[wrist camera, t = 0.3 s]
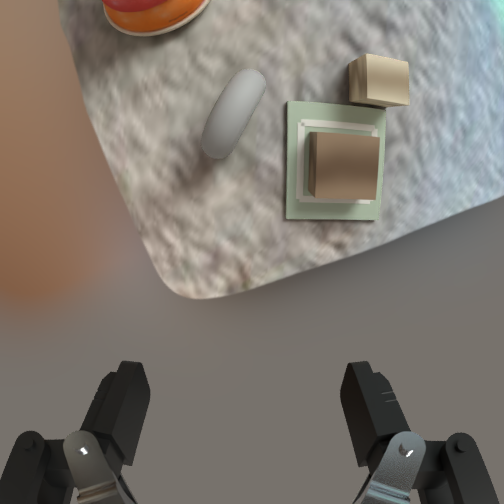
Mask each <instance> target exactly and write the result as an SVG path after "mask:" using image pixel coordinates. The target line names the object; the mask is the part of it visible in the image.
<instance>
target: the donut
mask: <svg viewBox="0 0 504 504" xmlns="http://www.w3.org/2000/svg"><path fill="white" fill-rule="evenodd" d="M265 89H266V82H265V79H264V77H263V76H262V74H261V73H259V72H258V71H256V70H253V69H244V70H240V71H239V72H237V73H236V74H235V75H234V76H233V77H232V78H231V80H230V81H229V82H228V84H227V85H226V87H225V88H224V90H223V91H222V93H221V95H220V96H219V98H218V100H217V102H216V104H215V106H214V108H213V110H212V112H211V114H210V116H209V118H208V120H207V123H206V125H205V128H204V130H203V133H202V137H201V146H202V149H203V151H204V152H205V153H206V154H207V155H208V156H209V157H211V158H215V159H222V158H225V157H227V156H228V155H229V154H230V153H231V152H232V151H233V149H234V147H235V146H236V144H237V142H238V140H239V138H240V136H241V134H242V132H243V130H244V129H245V127H246V125H247V123H248V121H249V119H250V117H251V116H252V114H253V112H254V110H255V108H256V106H257V105H258V103H259V101H260V99H261V97H262V96H263V94H264V92H265Z"/></svg>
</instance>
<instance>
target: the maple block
mask: <svg viewBox="0 0 504 504" xmlns="http://www.w3.org/2000/svg"><path fill="white" fill-rule="evenodd" d="M349 102H353V103H361V104H369V105H376V106H383V107H393V106H405V105H409V69H408V62H405V61H401V60H396V59H392V58H387V57H382V56H377V55H372V54H367V53H366V54H364V55H363V56H361V57H359V58H357V59H356V60H354V61H352V62H351V63H349Z"/></svg>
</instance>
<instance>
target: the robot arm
mask: <svg viewBox="0 0 504 504" xmlns="http://www.w3.org/2000/svg"><path fill="white" fill-rule="evenodd" d="M340 398H341V404H342V407H343V411H344V414H345V418H346V422H347V425H348V429H349V432H350V436H351V440H352V444H353V447H354V451H355V455H356V459H357V463H358V466H359V467H363V466H368V468H369V473H368V475H367V477H366V479H365V481H364V482H363V484H362V486H361V488H360V490H359V491H358V493H357V495H356V496H355V498H354V500H353V502H352V503H351V504H410V499H409V498H408V497H409V493H410V491H411V489H417V490H418V493H419V497H420V502H421V504H499V501H498V498H497V495H496V493H495V490H494V487H493V484H492V482H491V479H490V476H489V474H488V471H487V469H486V466H485V464H484V461H483V459H482V456H481V454H480V452H479V449H478V447H477V445H476V442H475V441H474V439H473V438H472V437H471V436H469V435H468V434H466V433H455V434H453V435H451V436H450V437H449V438H448V440H447V441H425V440H423V439H422V437H421V436H419V435H418V434H416V433H414V432H411V430H410V428H409V426H408V424H407V422H406V419H405V417H404V415H403V412H402V410H401V408H400V405H399V403H398V401H397V400H396V396H395V394H394V393H393V390H392V387H391V385H390V383H389V381H388V380H387V379H386V378H385V377H384V376H383V375H382V374H381V373H380V372H378V373H373V371H372V369H371V367H370V365H369V363H368V362H367V361H363V362H353V363H348V365H347V368H346V372H345V375H344V379H343V382H342V386H341V390H340ZM149 401H150V388H149V384H148V381H147V378H146V375H145V372H144V368H143V365H142V363H140V362H132V361H122V362H121V364H120V366H119V368H118V370H117V372H110V373H109V374H108V375H107V376H106V377H105V378H104V379H102V381H101V384H100V385H99V388H98V392H96V394H95V396H94V400H93V401H92V403H91V406H90V408H89V410H88V412H87V415H86V417H85V419H84V422H83V424H82V426H81V428H80V430H79V431H75V432H72V433H71V434H69V435H68V436H67V437H66V439H62V440H44V438H43V437H42V436H41V435H40V434H39V433H37V432H35V431H26V432H24V433H22V434H21V435H20V436H19V437H18V438H17V440H16V442H15V445H14V446H13V449H12V452H11V454H10V456H9V459H8V461H7V464H6V466H5V469H4V471H3V474H2V477H1V480H0V504H70V501H71V497H72V493H73V488H74V487H77V489H78V492H79V496H78V497H77V502H78V504H138V502H137V501H136V499H135V497H134V495H133V494H132V492H131V490H130V488H129V486H128V485H127V483H126V481H125V479H124V477H123V475H122V473H121V469H122V465H123V464H124V465H129V466H132V463H133V460H134V456H135V452H136V448H137V444H138V441H139V437H140V433H141V430H142V426H143V423H144V419H145V416H146V412H147V408H148V405H149Z"/></svg>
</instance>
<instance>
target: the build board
mask: <svg viewBox="0 0 504 504" xmlns="http://www.w3.org/2000/svg"><path fill="white" fill-rule="evenodd" d="M385 124H386V110H381V109H374V108H367V107H359V106H350V105H341V104H330V103H317V102H300V101H287V171H286V219H344V220H379V212H380V202H381V192H382V181H383V167H384V150H385ZM310 132H327V133H341V134H353V135H364V136H373V137H380V147H379V165H378V180H377V192H376V200H360V199H328V198H314V197H313V195H312V194H311V193H310V192H309V191H308V178H309V137H310Z"/></svg>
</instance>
